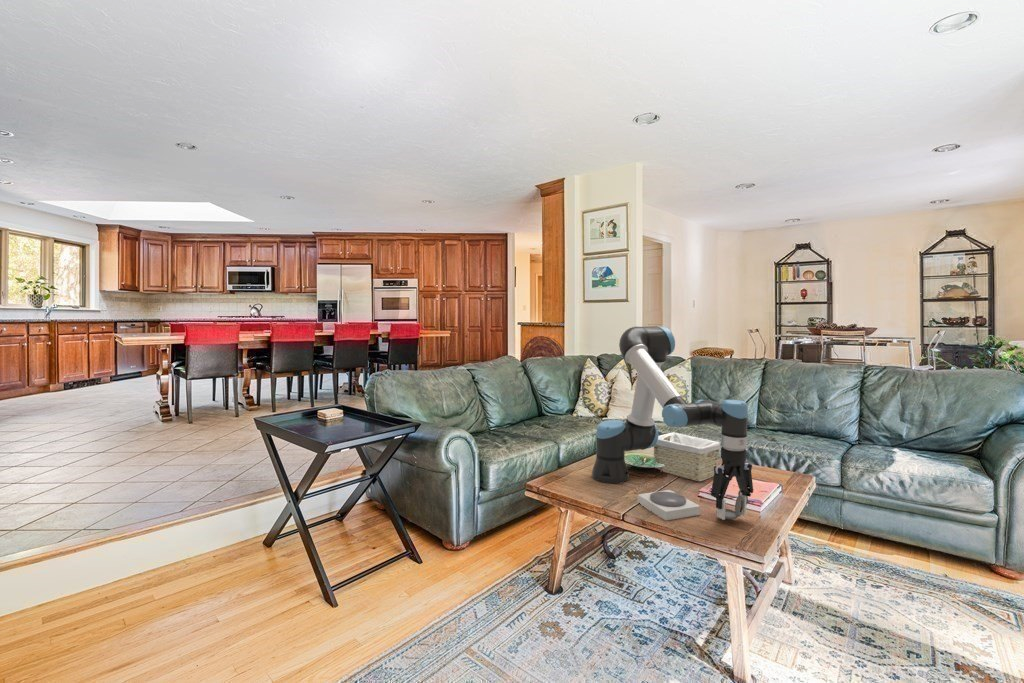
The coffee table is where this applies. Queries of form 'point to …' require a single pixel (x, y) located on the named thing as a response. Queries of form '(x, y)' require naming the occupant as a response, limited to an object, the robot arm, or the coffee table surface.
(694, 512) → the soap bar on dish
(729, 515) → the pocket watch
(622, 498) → the coffee table surface
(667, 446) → the storage basket
